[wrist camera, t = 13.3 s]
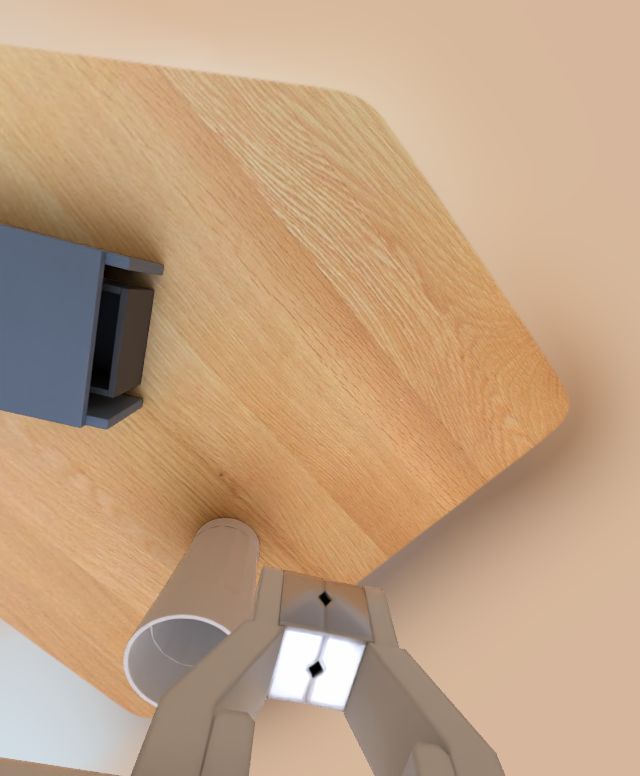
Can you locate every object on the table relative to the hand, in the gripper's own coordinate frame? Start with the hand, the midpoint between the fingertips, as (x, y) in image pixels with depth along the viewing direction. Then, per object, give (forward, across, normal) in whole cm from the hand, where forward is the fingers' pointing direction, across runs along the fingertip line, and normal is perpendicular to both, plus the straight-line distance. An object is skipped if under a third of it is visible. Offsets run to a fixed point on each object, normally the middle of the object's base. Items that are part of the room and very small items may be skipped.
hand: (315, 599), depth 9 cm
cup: (+24, +4, +18) cm, 30 cm away
